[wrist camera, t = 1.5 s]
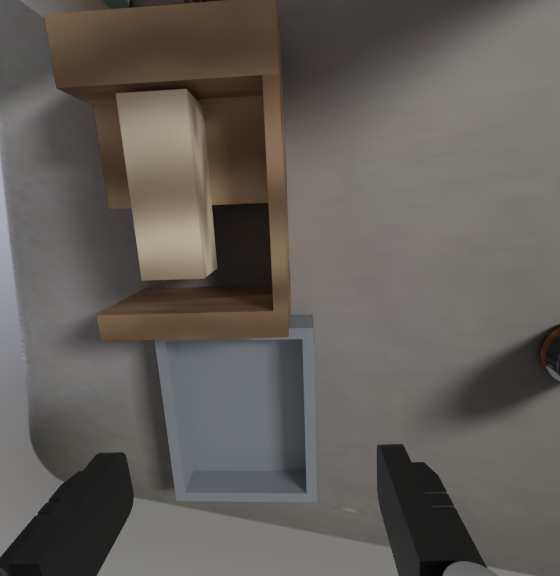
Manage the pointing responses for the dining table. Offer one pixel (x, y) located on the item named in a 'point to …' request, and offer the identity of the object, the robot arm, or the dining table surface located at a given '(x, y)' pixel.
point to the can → (73, 5)
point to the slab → (168, 183)
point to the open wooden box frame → (219, 136)
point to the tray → (242, 416)
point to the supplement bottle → (551, 354)
